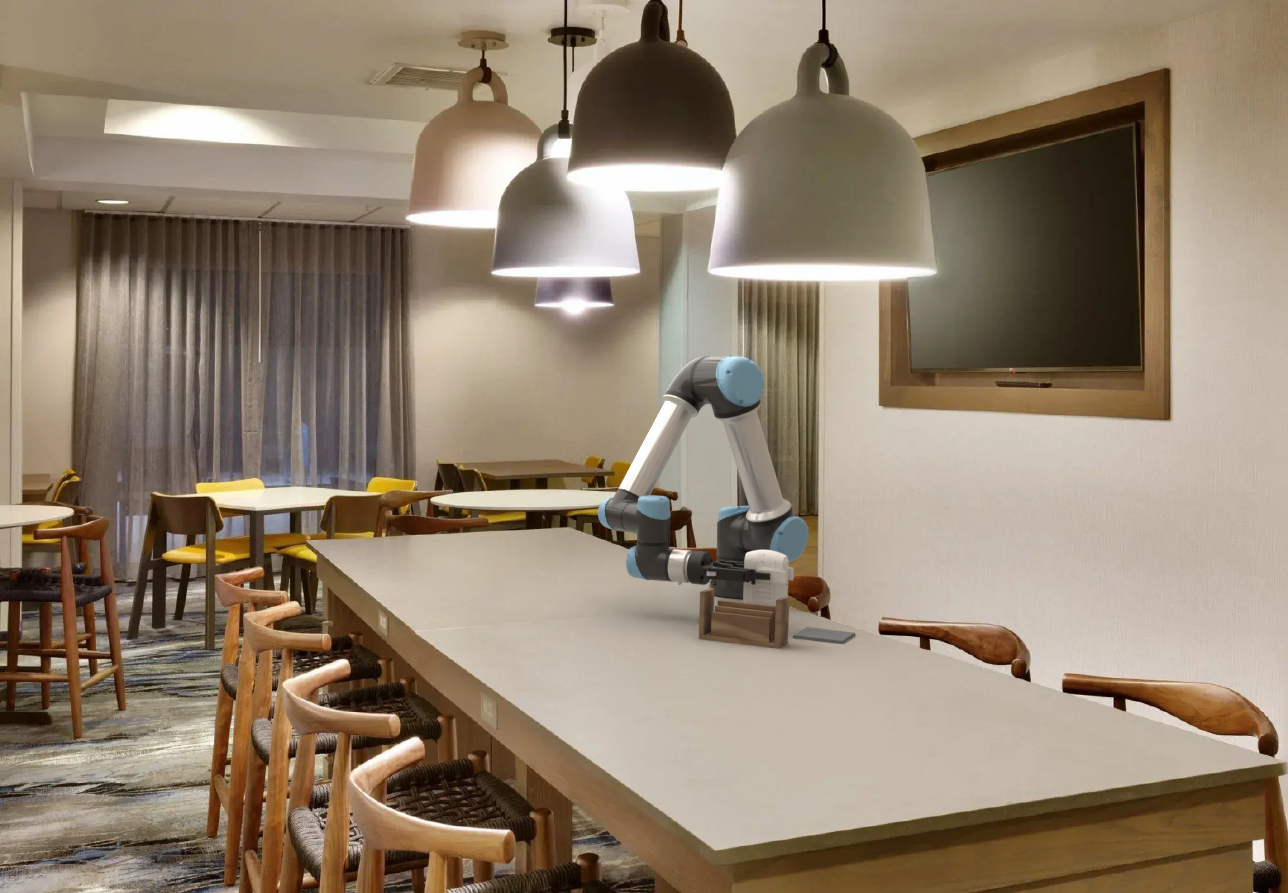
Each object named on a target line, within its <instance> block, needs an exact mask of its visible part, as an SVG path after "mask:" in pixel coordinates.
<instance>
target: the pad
mask: <svg viewBox="0 0 1288 893" xmlns="http://www.w3.org/2000/svg"><path fill="white" fill-rule="evenodd" d="M855 636H856V632H855V631H854V632H853V631H843V630H836V629H827V628H825V629H824V628H817V627H808V626H806V627H805V628H802V629H801V630H799V631H798V632H796V633H794V634H792V638H794V639H800V640H810V641H817V642H826V643H832V644H833V643H834V644H844V643H846V642H847V641H848V640H850V639H852V638H853V637H855Z"/></svg>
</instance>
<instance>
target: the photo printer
mask: <svg viewBox="0 0 1288 893" xmlns="http://www.w3.org/2000/svg"><path fill="white" fill-rule="evenodd" d="M789 564H790V562H789V560H788V557H787V556H786V555H784V554H782V553H779V552H776V551H772V550H755V551H750V552H747V553H746V555H745V560H744V568H747V569H754V570H756V572H757V569H768V570H780V571H786V584H781V583H770V582H759V581H757V579H756V584H755V585H752V584H751V581H750V582H748V583H747V582H744V589H743V598H742V599H743V600H742V601H743V603H752V604H762V605H771V606H776V600H777V599H779V598H781V597H784V596H789V580H788V571H789V567H790V566H789Z"/></svg>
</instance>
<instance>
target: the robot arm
mask: <svg viewBox="0 0 1288 893" xmlns="http://www.w3.org/2000/svg"><path fill="white" fill-rule="evenodd" d="M764 379H765V378H764V375H763V372H762V370H761V368H760V367H759V366H758V365H757V363H756V362H754V361H753V360H751V359H750V358H747V357H745V356H739V355H729V356H710V355H709V356H708V355H707V356H706V355H705V356H704V355H703V356H700V357H696V358H695V359H692V360H691V361H689V362H688V363H687V364H686V365H685V366H683V368H681V370H680V371H679V372H678V373H677V374H676V376H675V377H674V378H673V380H672V381H671V383H670V384H669V386H668V387H667V389H666V390H665V393H664V394H663V396H662V401H663V405H662V406H661V409H660V411H659V412H658V414H657V416H656V418H655V420H654V421H653V423H652V426H651V427H650V429H649V431H648V433H647V434H646V437H645V438H644V440H643V442H642V444H641V446H640V448H639V449H638V452H637V453H636V455H635V457H634V458H633V461H632V462H631V465H630V466H629V469H627V472H626V474H624V475H625V476H624V478H622V480H621V483H620V484H619V487H618V488H617V491H616V492H615V494H614V496H613V497H608V498H606V499H604V500H603V501H602V502H601V503H600V504H599V507H598V508H597V516H598V521H599V522H600V524H601V525H602V527H605V528H607V529H610V530H612V531H616V532H623V533H624V532H625V533H630V534H632V535H633V534H635V535H636V537H637V538H636V541H637V542H636V543H637V544H636V545H633V546H631V547H630V548H629V549H628V551H627V553H626V556H627V557H626V559H625V567H626V570H627V573H628V575H629V576H630V577H632V578H635V579H642V580H645V581H659V582H660V581H661V582H670V583H671V582H672V583H676V582H677V585H678V586H682V584H689V583H691V584H692V585H702V586H705V585H708V589H709V588H713V589H714V596H716V597H720V598H721V597H722V598H730V599H743V589H744V582H747V583H748V582H750V581H751V584H752V585H755V584H756V579H757V581H759V582H770V583H781V584H786V571H780V570H768V569H757V572H756V570H754V569H747V568H744V560H745V555H746V553H747V552H750V551H755V550H772V551H776V552H779V553H782V554H784V555H786V556H787V557H788V560H789V563H790V562H793V561H795V560H797V559H799V557H800V556H802V554H803V552H804V551H805V550H806V546H807V544H808V541H809V528H808V525H807V523H806V521H805V520H804V519H803V518H801V517H799V516H798V515H797V516H796V515H795V514H794V509H793V507H792V504H791V502H790V500H789V501H788V499H785V498H783V495H782V492H781V488H780V484H779V482H778V478H777V474H776V471H775V468H774V465H773V462H772V461H773V460H772V458H771V454H770V451H769V448H768V444H767V441H766V438H765V434H764V431H763V428H762V425H761V421H760V418H759V415H758V411H759V409H760V406H761V405H762V402H761V398H762V397H763V394H764V391H763V389H765V380H764ZM705 405H710V406H711V408H712V412H713V415H714V418H715V419H716V420H719V421H721V422H722V424H723V427H724V430H725V433H726V436H727V440H728V442H729V446H730V449H731V452H732V456H733V459H734V461H735V462H734V463H735V466H736V467H737V471H738V474H739V478H740V481H741V485H742V487H743V491H744V495H745V498H746V500H747V503H748V505H741V506H740V505H738V506H724V507H721V508H720V509H719V510H718V514H717V521H716V528H717V529H716V561H715V560H714V561H713V557H712V555H711V554H710V552H708V551H703V550H702V551H701V550H691V549H682V548H681V549H679V548H678V549H677V548H670V532H671V529H670V528H671V527H670V526H671V515H672V513H671V509H670V508H671V507H670V506H671V505H670V499H669V498H668V497H667V496H664V495H652V492H653V490H654V488H655V486H656V484H657V482H658V481H659V479H660V477H661V476H662V473H663V471H664V469H665V468H666V466H667V464H668V462H669V460H670V458H671V456H672V454H673V453H674V451H675V448H676V447H677V446H678V443H679V441H680V439H681V437H682V435H683V434H684V432H685V431H686V428H687V426H688V425H689V423H690V421H691V419H693V418H696V417H697V416H698V415H699V413H700V411H701V410H702V408H703V407H704V406H705ZM794 573H795V572H794V567H790V566H789V571H788V581H794Z"/></svg>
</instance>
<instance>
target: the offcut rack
mask: <svg viewBox="0 0 1288 893" xmlns="http://www.w3.org/2000/svg"><path fill="white" fill-rule="evenodd" d="M698 618H699V619H698V622H699V623H698V639H699V640H700V639H701V640H709V641H717V642H723V643H732V644H739V645H740V644H741V645H747V646H748V645H749V646H757V647H765V648H772V649H773V648H774V649H781V648H782V647H785V646H786V645H787V644H788V643H789V624H790V623H789V621H790V620H789V618H790V596H789V595H788V596H784V597H781V598H779V599H777V600H776V606H771V605H762V604H752V603H743V602H742V601H732V600H723V599H719V600H717V605H715V595H714V589H713V588H709V587H708V588H707V589H705V590H702V591H700V592H699V617H698Z"/></svg>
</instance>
